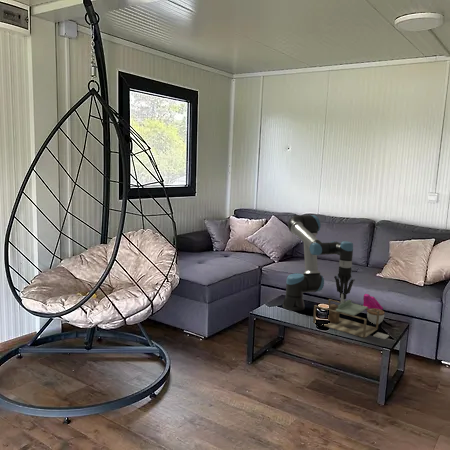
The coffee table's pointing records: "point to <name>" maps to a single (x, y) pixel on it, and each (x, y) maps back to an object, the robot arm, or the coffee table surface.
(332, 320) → the block
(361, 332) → the open box frame
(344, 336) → the coffee table surface
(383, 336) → the tile
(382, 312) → the lidded jar
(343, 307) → the cover
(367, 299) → the bracket
